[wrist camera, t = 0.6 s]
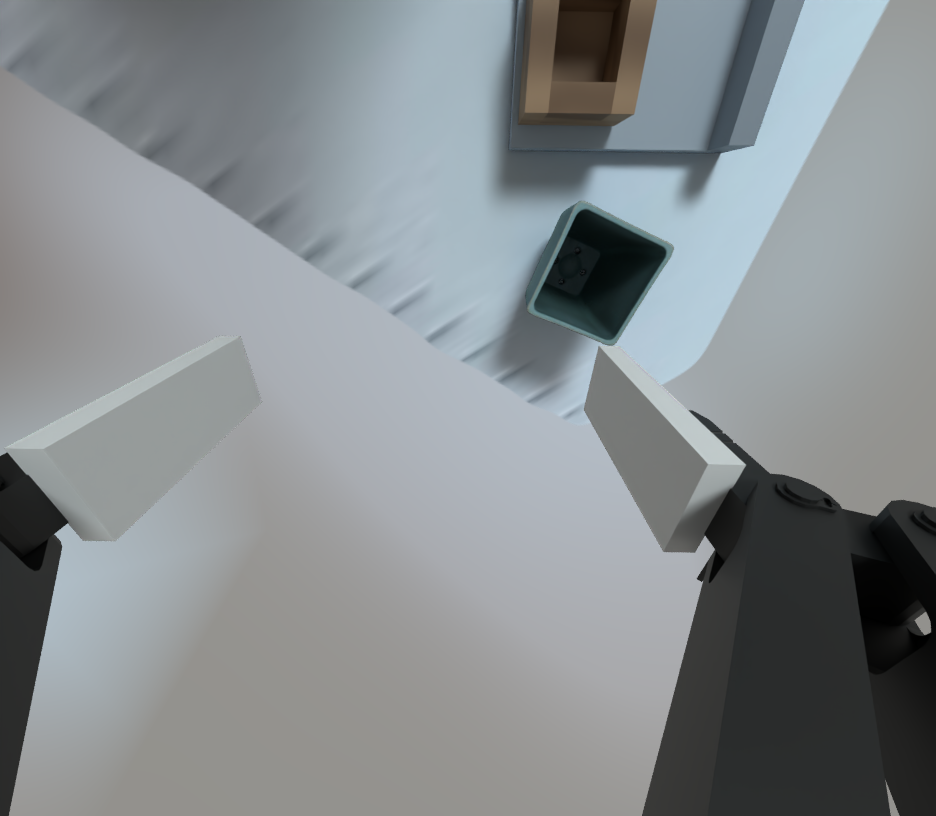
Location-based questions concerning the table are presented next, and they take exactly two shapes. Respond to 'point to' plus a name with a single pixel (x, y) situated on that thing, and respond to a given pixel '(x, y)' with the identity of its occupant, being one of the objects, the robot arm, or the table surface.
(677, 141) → the board
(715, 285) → the table surface
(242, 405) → the robot arm
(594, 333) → the flower pot
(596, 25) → the block
